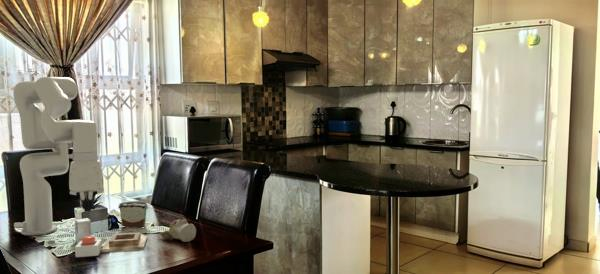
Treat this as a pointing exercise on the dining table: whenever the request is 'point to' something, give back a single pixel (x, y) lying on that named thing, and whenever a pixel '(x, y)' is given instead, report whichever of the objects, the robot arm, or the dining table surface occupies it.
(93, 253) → the button box
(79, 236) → the block
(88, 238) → the button
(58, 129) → the robot arm
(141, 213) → the food container
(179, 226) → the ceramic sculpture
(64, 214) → the dining table surface
